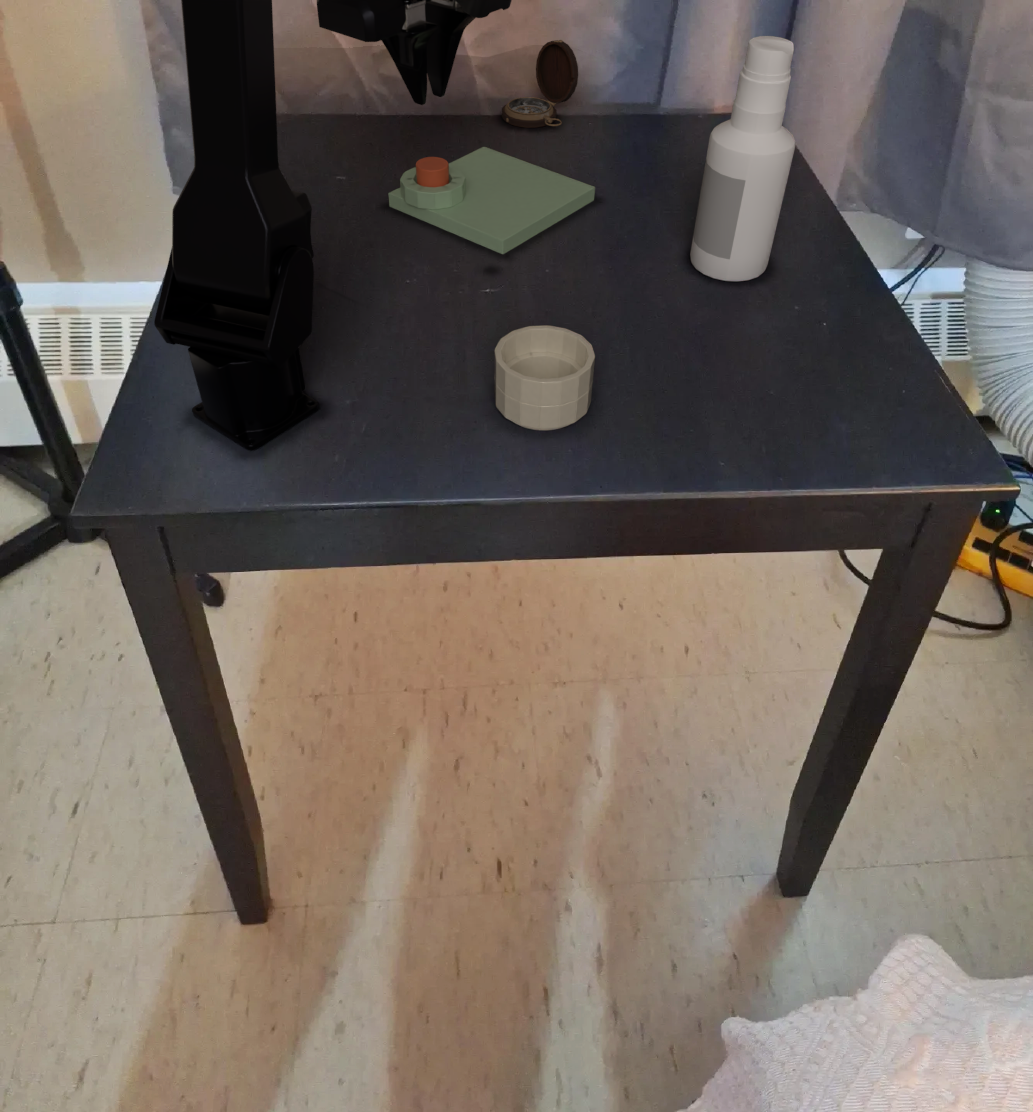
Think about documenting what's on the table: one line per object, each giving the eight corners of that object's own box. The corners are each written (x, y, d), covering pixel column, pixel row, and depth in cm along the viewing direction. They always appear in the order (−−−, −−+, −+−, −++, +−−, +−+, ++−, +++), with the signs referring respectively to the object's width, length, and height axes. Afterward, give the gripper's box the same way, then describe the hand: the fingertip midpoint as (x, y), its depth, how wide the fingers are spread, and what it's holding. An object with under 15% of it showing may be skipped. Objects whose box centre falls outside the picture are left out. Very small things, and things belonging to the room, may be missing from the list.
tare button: (434, 192, 86) (433, 173, 85) (410, 182, 87) (408, 164, 86) (455, 181, 88) (455, 162, 86) (431, 172, 89) (431, 153, 88)
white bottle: (707, 237, 87) (745, 22, 74) (777, 257, 84) (830, 39, 71) (676, 269, 83) (711, 47, 70) (750, 291, 80) (800, 65, 67)
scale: (499, 257, 83) (499, 225, 81) (385, 208, 89) (383, 177, 87) (594, 200, 91) (596, 170, 89) (484, 159, 97) (483, 130, 95)
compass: (489, 116, 105) (489, 46, 100) (542, 100, 108) (545, 31, 103) (536, 140, 101) (539, 68, 95) (590, 122, 104) (595, 51, 99)
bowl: (551, 447, 65) (554, 394, 62) (475, 408, 68) (474, 355, 65) (607, 401, 69) (613, 349, 66) (533, 366, 72) (536, 314, 69)
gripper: (413, -74, 62) (424, 160, 74) (578, -119, 73) (566, 93, 84) (298, -102, 67) (326, 122, 78) (469, -141, 77) (472, 63, 89)
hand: (429, 99), depth 82 cm, fingers closed
